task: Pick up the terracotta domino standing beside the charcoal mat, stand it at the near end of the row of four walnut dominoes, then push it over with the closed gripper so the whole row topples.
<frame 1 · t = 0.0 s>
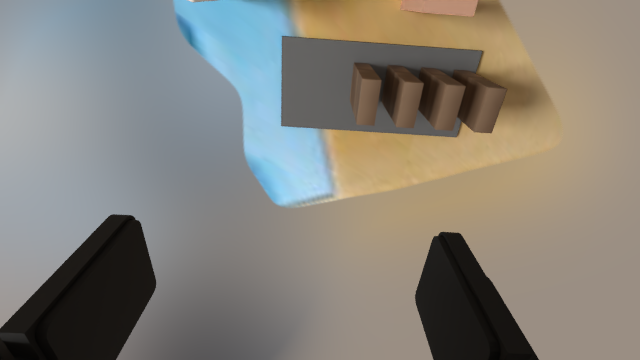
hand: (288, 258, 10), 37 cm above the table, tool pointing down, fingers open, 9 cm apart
mat: (375, 90, 44), on the table
domino 4: (456, 88, 44), resting on mat
domino 2: (391, 84, 43), resting on mat
domino 3: (424, 86, 43), resting on mat
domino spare: (421, 1, 39), on the table
domino 1: (358, 82, 43), resting on mat
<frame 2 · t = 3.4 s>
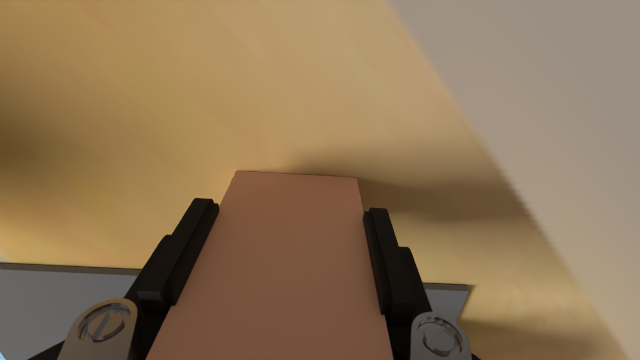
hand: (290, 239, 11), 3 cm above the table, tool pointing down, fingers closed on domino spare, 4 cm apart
mat: (223, 345, 19), on the table
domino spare: (296, 194, 14), on the table, touching gripper
when the fingers open (4 cm above the table, at t = 8.6 s): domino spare stays where it is, resting on mat.
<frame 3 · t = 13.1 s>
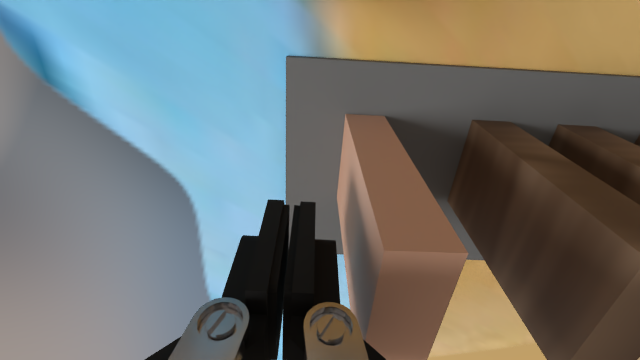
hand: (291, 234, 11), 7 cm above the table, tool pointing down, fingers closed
mat: (510, 178, 18), on the table
domino 2: (556, 168, 18), resting on mat
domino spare: (359, 159, 17), resting on mat, touching gripper
domino 1: (476, 164, 17), resting on mat
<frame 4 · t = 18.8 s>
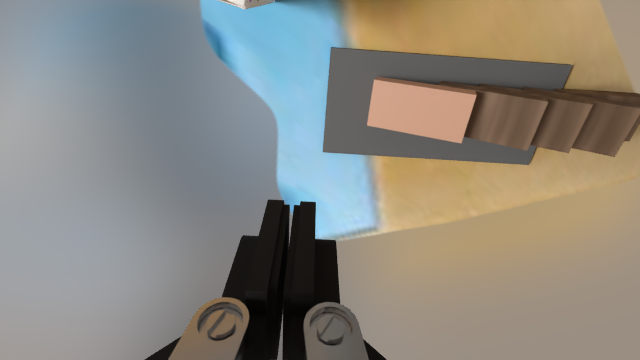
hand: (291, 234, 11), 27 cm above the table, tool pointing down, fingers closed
mat: (437, 110, 37), on the table
domino 4: (550, 112, 36), point 1 cm above the table, tilted 93°, touching domino 3, mat
domino 2: (472, 107, 35), point 1 cm above the table, tilted 63°, touching domino 1, domino 3, mat
domino 3: (514, 110, 35), point 1 cm above the table, tilted 63°, touching domino 2, domino 4
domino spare: (372, 101, 35), point 1 cm above the table, tilted 70°, touching domino 1, mat
domino 1: (434, 105, 35), point 1 cm above the table, tilted 63°, touching domino 2, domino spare
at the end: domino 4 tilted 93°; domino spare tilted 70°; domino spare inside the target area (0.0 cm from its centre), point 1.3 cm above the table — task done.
